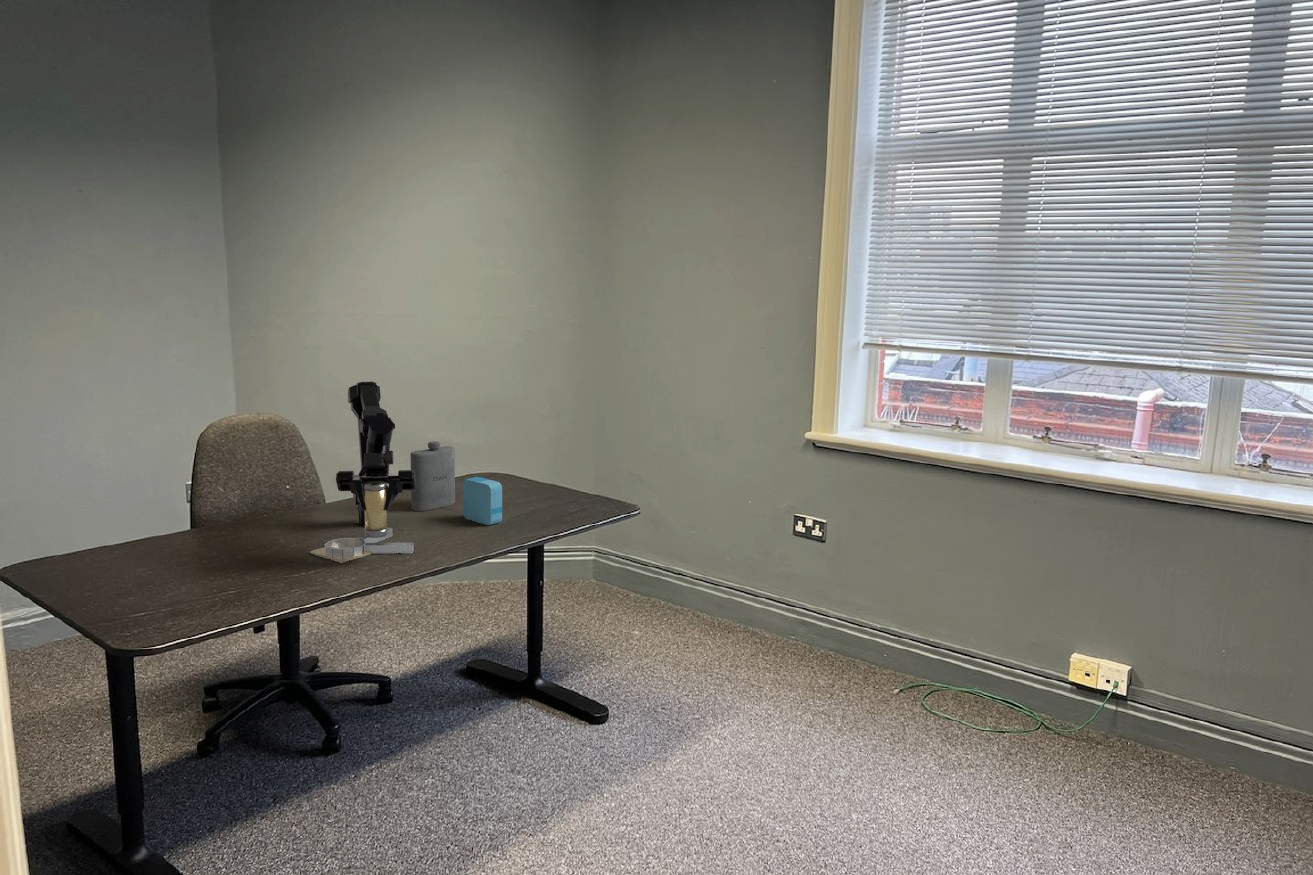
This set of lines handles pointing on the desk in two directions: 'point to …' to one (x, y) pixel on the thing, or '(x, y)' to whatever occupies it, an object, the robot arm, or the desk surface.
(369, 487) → the glass jar
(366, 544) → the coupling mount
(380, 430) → the robot arm
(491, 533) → the desk surface
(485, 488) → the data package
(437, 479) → the flask
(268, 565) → the desk surface
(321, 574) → the desk surface
